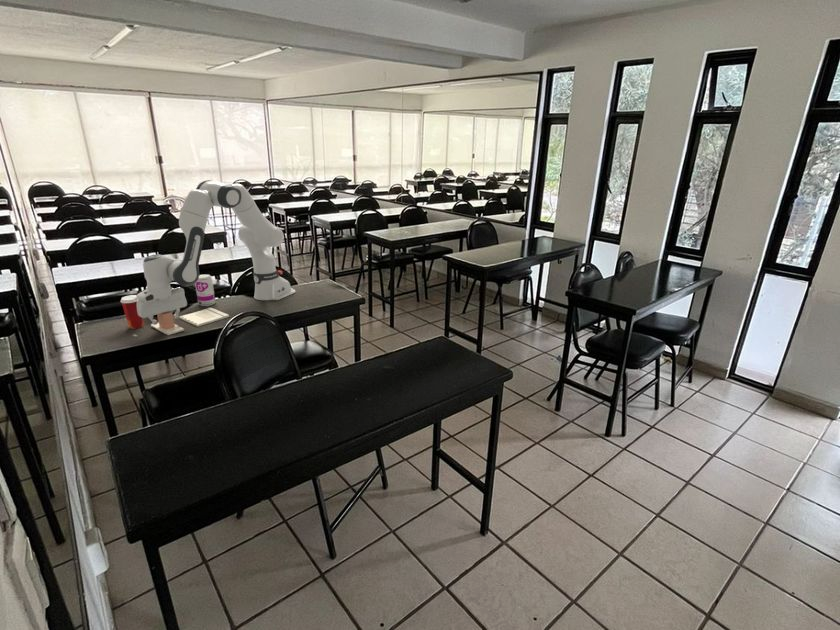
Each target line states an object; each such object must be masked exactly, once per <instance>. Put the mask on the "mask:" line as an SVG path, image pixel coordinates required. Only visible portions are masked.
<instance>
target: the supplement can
mask: <svg viewBox="0 0 840 630" xmlns="http://www.w3.org/2000/svg"><path fill="white" fill-rule="evenodd" d="M213 283H214V282H213V278H212V276H211V275H210V274H209V273H208V274H202V273H201V274H199V278H198V280H197V282H196V283H195V284H194V286H195V292H196V297H197V303H198V305H199V306H200V307H210V306H213V305H214V304H215V303H216V296H215V290H214V289H215V288H214V284H213Z"/></svg>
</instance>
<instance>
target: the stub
mask: <svg viewBox="0 0 840 630" xmlns="http://www.w3.org/2000/svg"><path fill="white" fill-rule="evenodd" d="M156 317H157V323H158V324H156V325H153V324H152V323H151V324H150V326H151V328H153V329H156V330H157V331H159V332H161V333H163V334H165V335H167V336H171V335H173V334H174V335H175V334H177V333H180V332H183V331H185V328H183V327H181V326H179V325H178V324H175V320H174V319H175V318H174V316H173V313H172V312H170V311H168V312H164V313H161V314H157V316H156Z"/></svg>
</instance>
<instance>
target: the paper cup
mask: <svg viewBox="0 0 840 630" xmlns="http://www.w3.org/2000/svg"><path fill="white" fill-rule="evenodd" d="M136 295H137V294H130V295H126V296H122V297H121V299H120V301H119V302H120V303H121V305H122V309H123V311H124V315H125V318H126V322H127V324H128V328H129V329H132V330H133V329H134V330H135V329H136V330H137V329H140V328H142V327H144V318H142V317H140V316H139V315H138V313H137V301H138V299H137V297H136Z"/></svg>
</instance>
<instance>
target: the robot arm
mask: <svg viewBox="0 0 840 630" xmlns="http://www.w3.org/2000/svg"><path fill="white" fill-rule="evenodd" d="M182 204H183V205H182V207H181V210H180V213H179V217H178V225H179V228H180V230H181V231H182V233H183V235H184V236H185V240H186V243H185V248H184V252H183V258H182V259H179V258H171V257H167V256H165V255H162V254H159V253H158V254H151V255H149V256H147V257H145V258H144V259H143V263H142V267H143V275H144V279H145V280H146V289H144V290H142V291H140V292H139V293H137V294H135V295H136V297H137V299H138V301H137V313H138V315H139V316H140V317H142V318H143V319H146V318H148V320H150V322H151V325H152V324H153V325H156V324H158V323H159V322H158V319H157V320H156V319H154V316H156V315H157V314H161V313H164V312H168V311H172V310H174V314H173V313H172V314H173V319H175V320H176V319H178V318H179V319H180V315H179V314H180V311H181V309H182V308H185V307H187V305H188V301H187V298H186V296H185V289H184V288H185V287H187V288H188V287H191V286H193V285H195V283H196V282H197V280H198V278H199V275H200V267H199V263H200V259H201V254H202V250H203V245H204V241H205V239H204V238H205V231H206V227H207V222H208V219H209V217H210V216H209V215H210V213H211V209H212V208H213V207H214V206H215V207H219V208H224V209H232V211H233V213H234V215H235V216H236V218H237V220H238V221H239V222H240V224H241V226H240V227H239V229H238V238H239V240H240V241H241V242H242V243H243V245H245V246H246V248H247V249H248V252H249V254H250V257H251V259H252V260H251V261H252V265H253V281H254V284H255V285H254V296H253V298H254V299H255V300H259V301H279V300H281V299H283V298H286V297H289V296H291V295H293V294H296V289H294V288H292V287H291V286H292V285H291V283H290V282H289V281H288V280H287V279H285V278H284V277H281V276H280V275H283V271H282V270H279V269H278V270H277V268H276V261H275V260H276V259H275V256H274V254H273V253H271V252H270V250H269V249H268V248H277V247H280V246H281V245H282V244H283V243H284V238H285V236H284V232H283V231H282V229H281V228H279V227H277V226H276V225H275V224H273V223H272V222H271V221H270V220H268V219H267V217H265V216H264V214H263V213H262V212H261V211H260V208H259V207H258V206H257V204H256V202H255V200H254V198H253V197H252V195H251V193H250V192H249V191H248V189H247V188H246V187H245V186H244V185H243V184H242V183H241V184H240V183H231V184H229V183H225V182H223V181H214V180H209V179H207V180H203V181H200V183H198V185H197V186H196V188H195V189H191V190H190V191H189V192H188V194H187V196H186V197H185V199H184V201H183V203H182ZM171 282H175V283H176V284H178V285H179V287H176V288H173V289H171V287H172V286H171ZM180 286H181V287H180ZM183 287H184V288H183Z"/></svg>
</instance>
